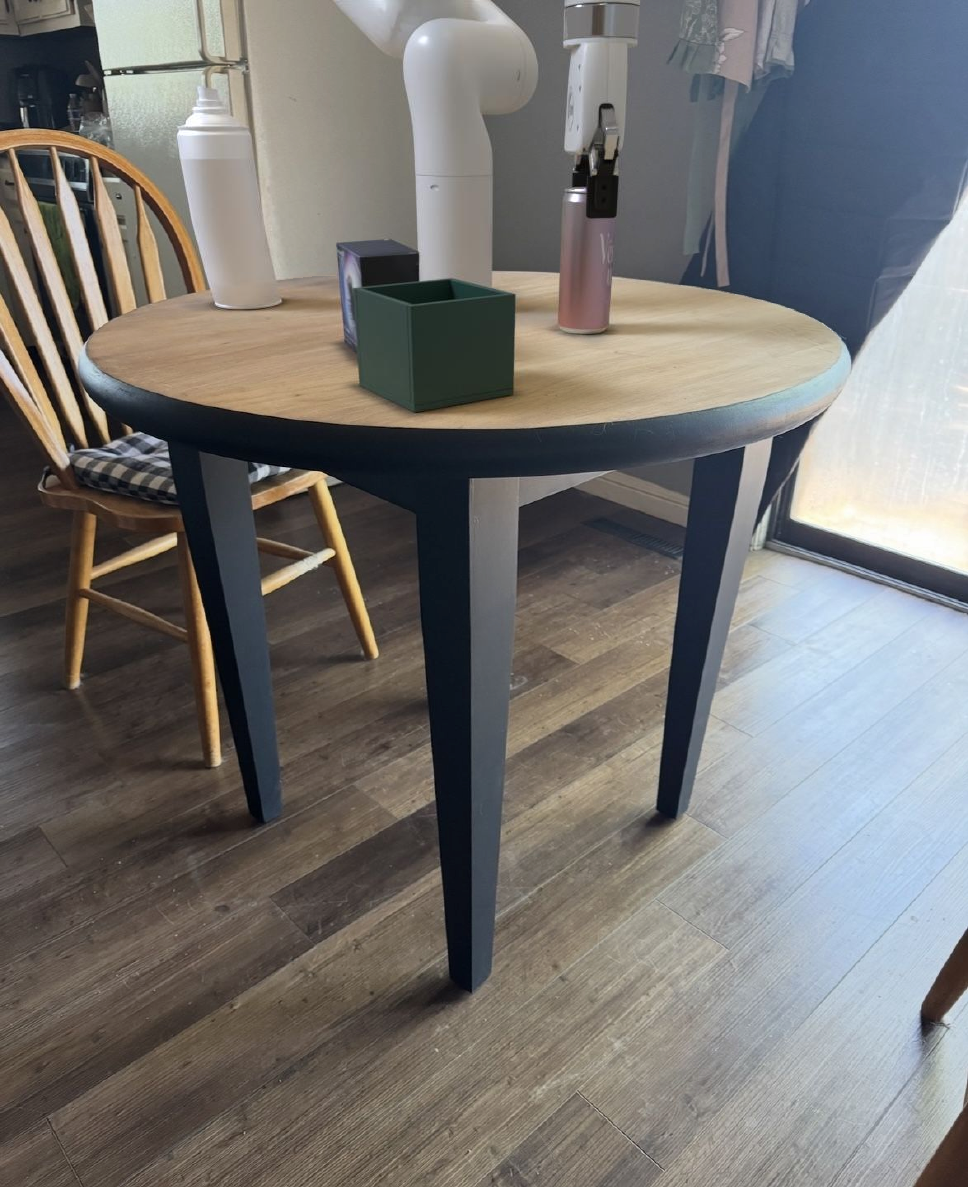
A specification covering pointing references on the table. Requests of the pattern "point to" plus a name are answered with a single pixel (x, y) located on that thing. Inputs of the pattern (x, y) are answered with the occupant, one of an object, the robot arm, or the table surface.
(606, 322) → the beverage can
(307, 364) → the table surface
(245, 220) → the spray can
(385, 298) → the bin
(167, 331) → the table surface
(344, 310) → the small box
